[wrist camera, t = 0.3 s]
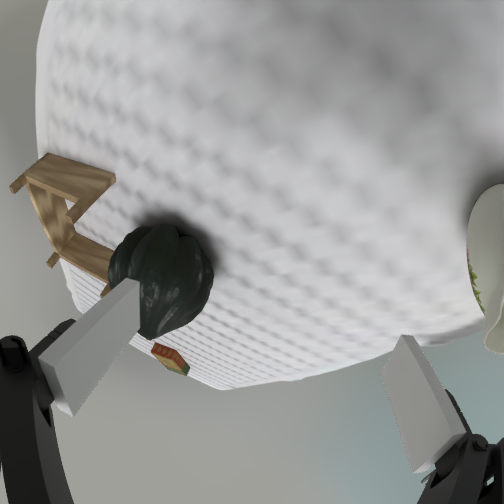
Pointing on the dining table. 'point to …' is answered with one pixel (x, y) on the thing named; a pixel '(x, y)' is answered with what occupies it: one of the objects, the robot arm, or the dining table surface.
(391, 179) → the dining table surface
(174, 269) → the squash
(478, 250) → the pitcher
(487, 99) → the dining table surface
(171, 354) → the carton
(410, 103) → the dining table surface
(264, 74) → the dining table surface
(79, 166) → the rack
